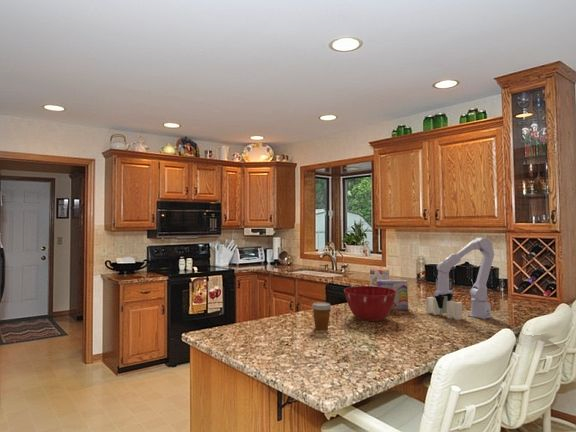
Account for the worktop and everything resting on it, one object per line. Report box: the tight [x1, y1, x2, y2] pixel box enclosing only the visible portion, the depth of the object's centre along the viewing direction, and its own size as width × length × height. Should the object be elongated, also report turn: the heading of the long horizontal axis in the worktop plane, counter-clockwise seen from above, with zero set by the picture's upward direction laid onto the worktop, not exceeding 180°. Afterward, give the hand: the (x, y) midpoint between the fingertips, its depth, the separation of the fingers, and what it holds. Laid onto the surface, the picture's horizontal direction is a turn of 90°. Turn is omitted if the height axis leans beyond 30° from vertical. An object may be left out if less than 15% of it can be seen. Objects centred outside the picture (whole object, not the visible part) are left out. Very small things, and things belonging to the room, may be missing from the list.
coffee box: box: [435, 277, 454, 301], centre depth 258 cm, size 9×6×16 cm
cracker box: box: [369, 267, 390, 287], centre depth 273 cm, size 14×6×21 cm, turn 25°
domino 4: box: [446, 299, 456, 319], centre depth 221 cm, size 2×5×9 cm, turn 122°
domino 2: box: [432, 297, 442, 316], centre depth 229 cm, size 2×5×9 cm, turn 123°
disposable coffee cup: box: [311, 301, 332, 331], centre depth 199 cm, size 10×10×12 cm
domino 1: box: [425, 296, 435, 315], centre depth 233 cm, size 2×5×9 cm, turn 123°
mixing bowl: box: [343, 285, 397, 322], centre depth 220 cm, size 28×28×16 cm
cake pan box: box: [377, 279, 409, 311], centre depth 243 cm, size 19×5×18 cm, turn 76°
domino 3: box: [440, 296, 448, 314], centre depth 225 cm, size 2×5×9 cm, turn 123°
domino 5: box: [453, 301, 463, 321], centre depth 217 cm, size 2×5×9 cm, turn 123°
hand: (443, 307), depth 225 cm, fingers closed on domino 3, 5 cm apart
